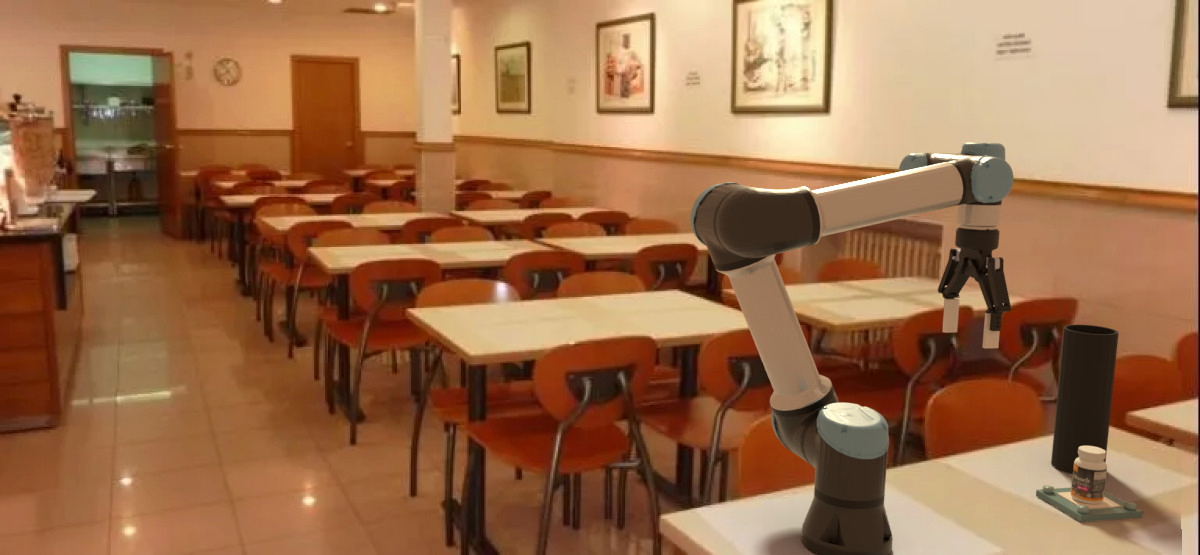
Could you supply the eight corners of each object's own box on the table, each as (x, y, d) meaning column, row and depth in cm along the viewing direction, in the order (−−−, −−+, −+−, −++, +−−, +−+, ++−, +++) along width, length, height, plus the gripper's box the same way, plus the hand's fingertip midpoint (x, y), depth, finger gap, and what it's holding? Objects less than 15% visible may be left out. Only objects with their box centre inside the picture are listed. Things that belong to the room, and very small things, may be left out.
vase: (1113, 476, 204) (1128, 335, 199) (1065, 475, 204) (1078, 334, 199) (1089, 459, 214) (1102, 324, 209) (1042, 459, 214) (1055, 324, 209)
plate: (1080, 521, 180) (1081, 510, 180) (1035, 495, 193) (1036, 484, 192) (1142, 517, 183) (1143, 506, 182) (1094, 491, 195) (1095, 481, 195)
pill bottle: (1063, 496, 189) (1068, 446, 187) (1084, 492, 191) (1089, 443, 189) (1089, 506, 184) (1094, 455, 182) (1110, 502, 186) (1115, 452, 184)
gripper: (1038, 234, 170) (1028, 354, 173) (959, 220, 194) (951, 325, 197) (999, 234, 168) (989, 355, 171) (924, 220, 192) (917, 326, 196)
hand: (969, 339), depth 184 cm, fingers open, 13 cm apart
